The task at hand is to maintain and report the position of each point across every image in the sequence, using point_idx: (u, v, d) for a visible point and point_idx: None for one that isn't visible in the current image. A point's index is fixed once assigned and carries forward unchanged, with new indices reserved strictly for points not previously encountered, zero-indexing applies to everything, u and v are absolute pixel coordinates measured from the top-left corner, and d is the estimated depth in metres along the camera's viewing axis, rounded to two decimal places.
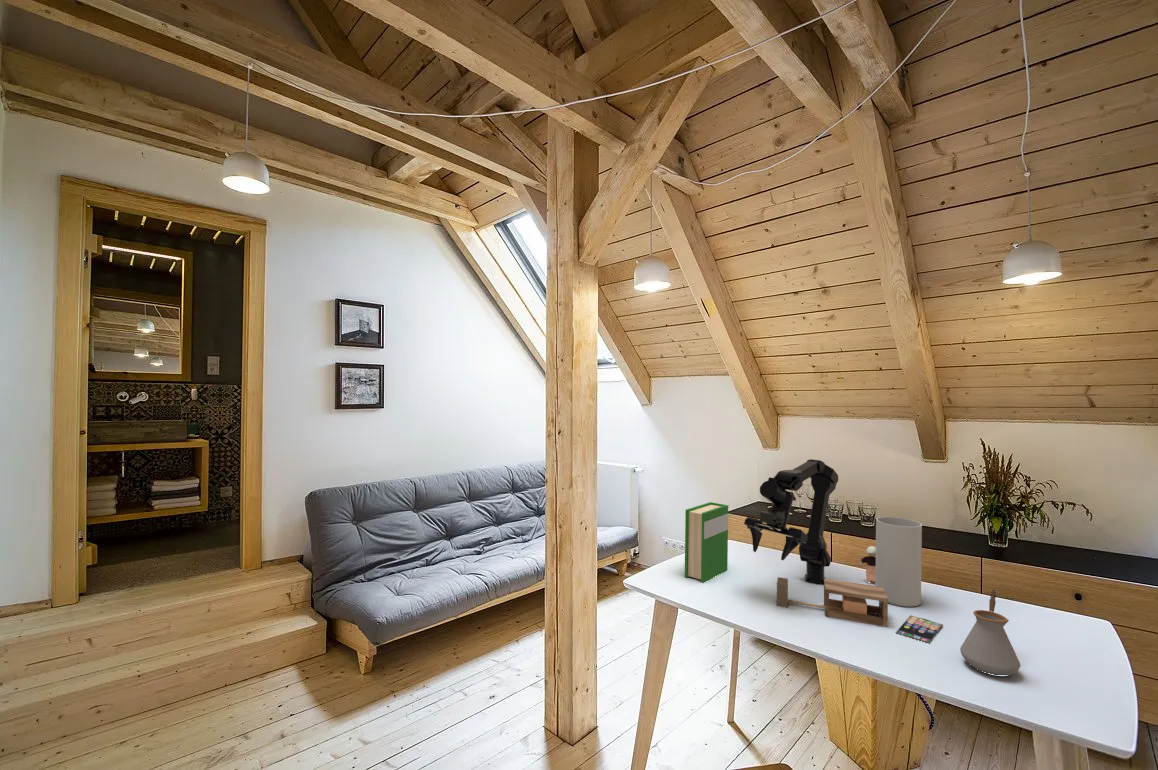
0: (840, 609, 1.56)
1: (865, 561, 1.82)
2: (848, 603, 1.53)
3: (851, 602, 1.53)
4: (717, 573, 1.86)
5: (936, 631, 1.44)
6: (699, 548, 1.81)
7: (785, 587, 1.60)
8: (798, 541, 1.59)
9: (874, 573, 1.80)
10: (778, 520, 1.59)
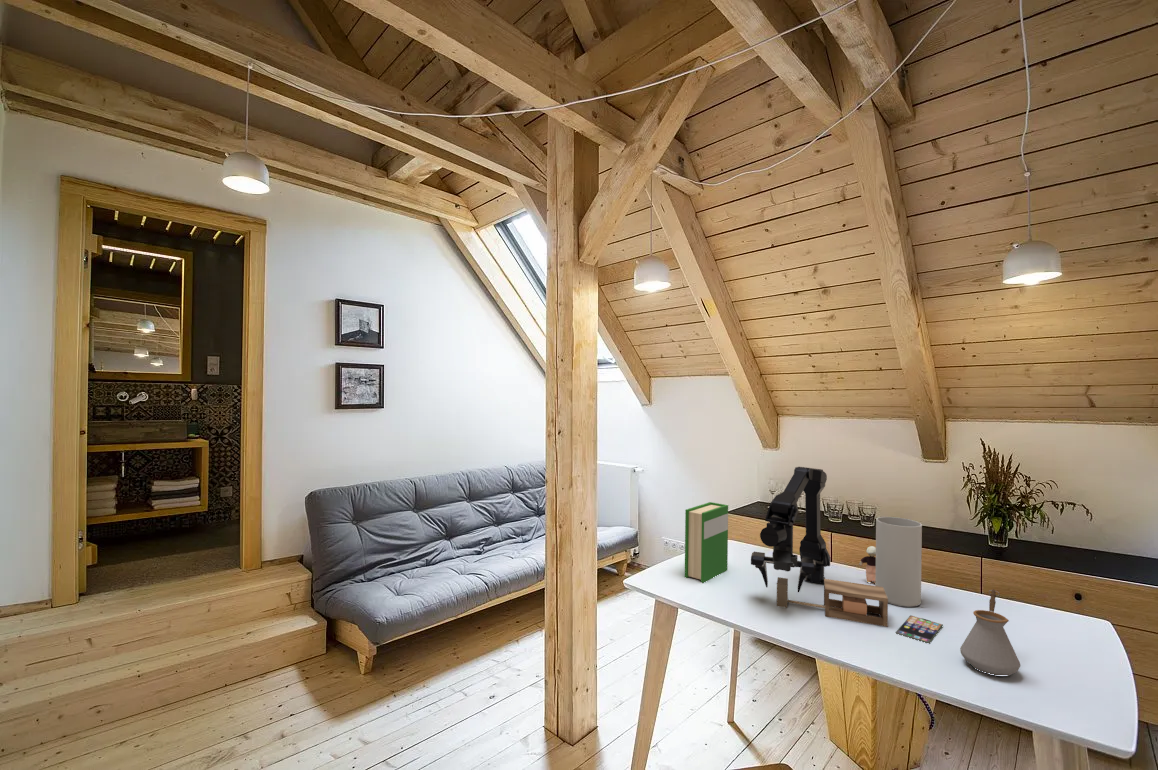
0: (840, 609, 1.56)
1: (865, 561, 1.82)
2: (848, 603, 1.53)
3: (851, 602, 1.53)
4: (717, 573, 1.86)
5: (936, 631, 1.44)
6: (699, 548, 1.81)
7: (785, 587, 1.60)
8: None
9: (874, 573, 1.80)
10: (795, 566, 1.55)
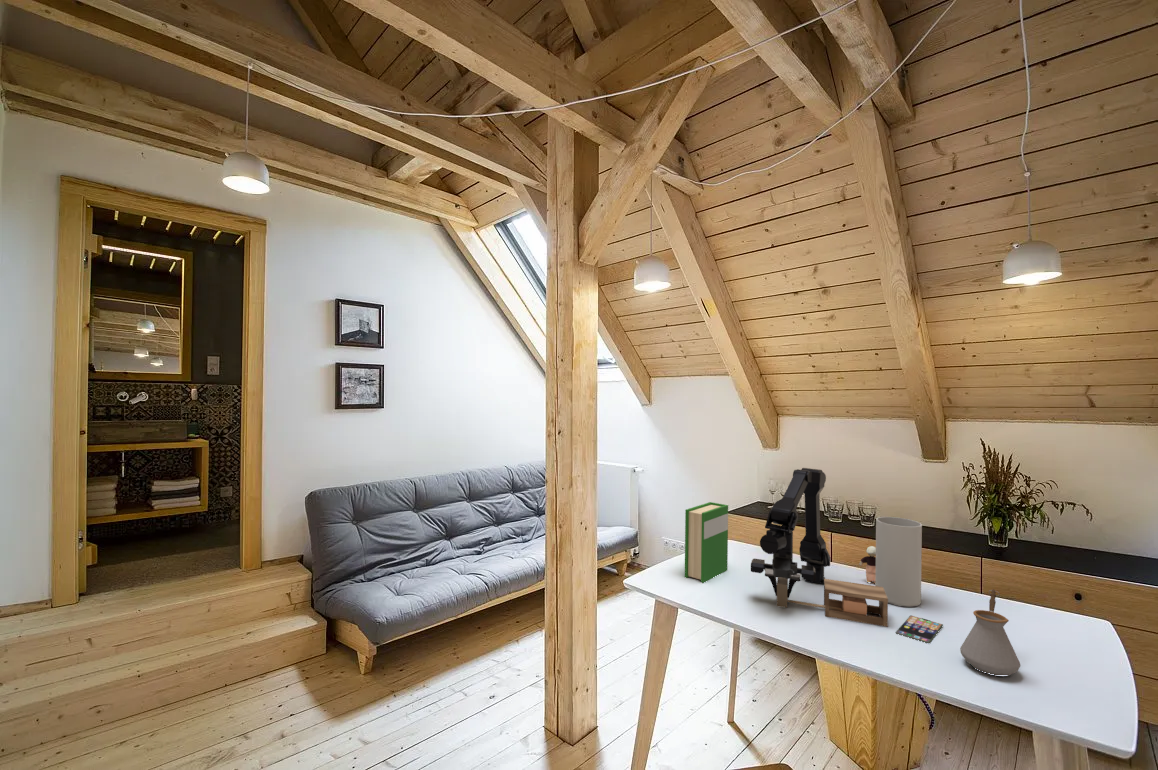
0: (840, 609, 1.56)
1: (865, 561, 1.82)
2: (848, 602, 1.53)
3: (851, 602, 1.53)
4: (717, 573, 1.86)
5: (936, 631, 1.44)
6: (699, 548, 1.81)
7: (785, 587, 1.60)
8: None
9: (874, 573, 1.80)
10: (795, 573, 1.55)
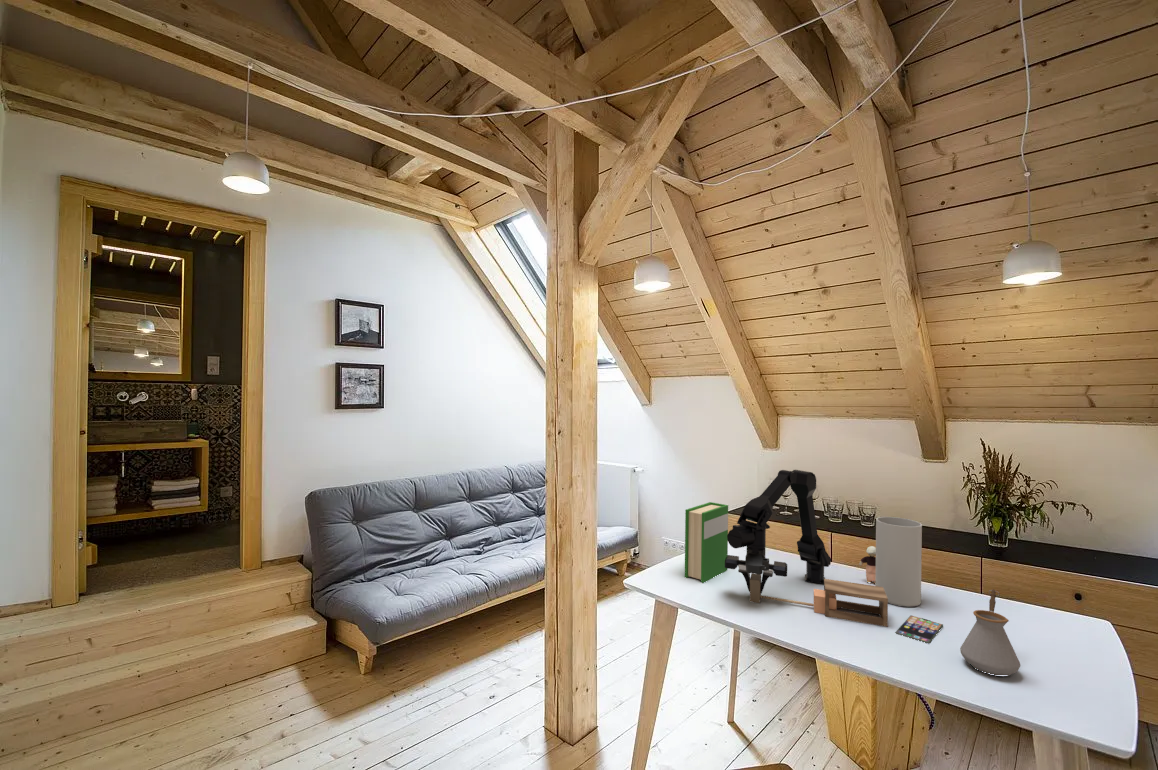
0: (811, 604, 1.59)
1: (865, 561, 1.82)
2: (818, 598, 1.56)
3: (821, 597, 1.56)
4: (717, 573, 1.86)
5: (936, 631, 1.44)
6: (699, 548, 1.81)
7: (758, 583, 1.63)
8: (772, 573, 1.64)
9: (874, 573, 1.80)
10: (766, 569, 1.58)
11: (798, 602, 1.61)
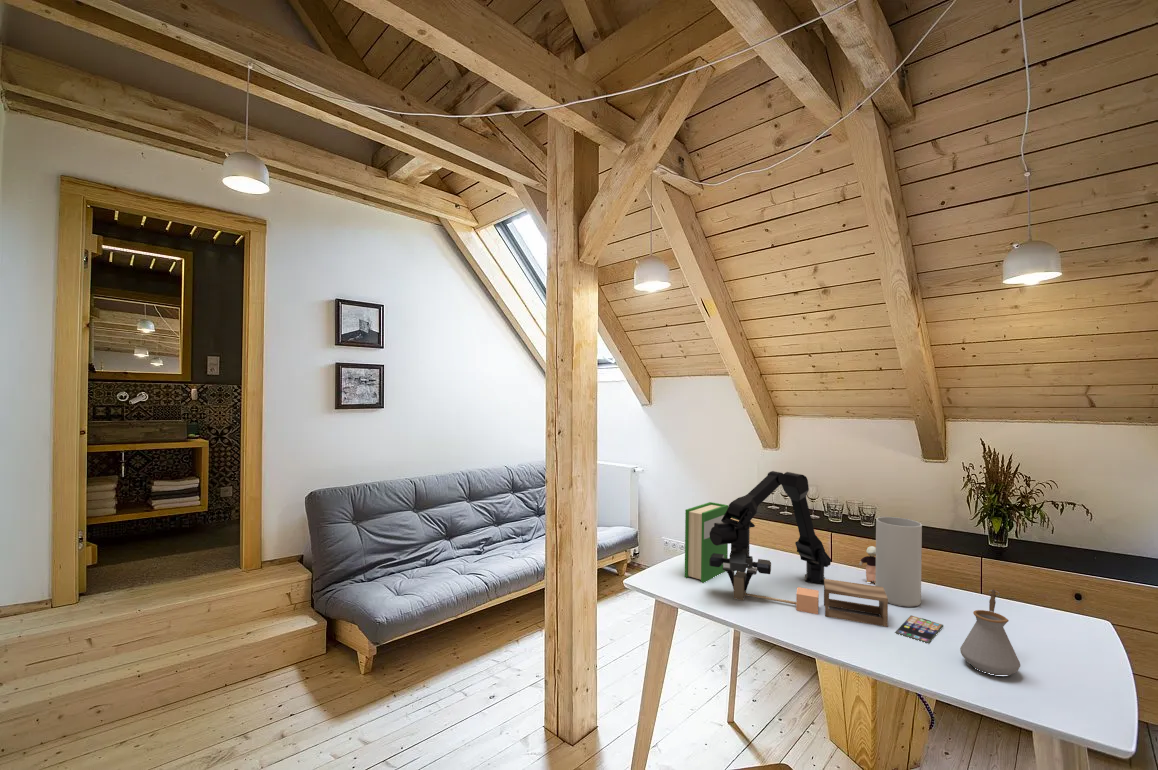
0: (794, 602, 1.60)
1: (865, 561, 1.82)
2: (800, 596, 1.57)
3: (803, 595, 1.57)
4: (717, 573, 1.86)
5: (936, 631, 1.44)
6: (699, 548, 1.81)
7: (741, 580, 1.65)
8: (756, 571, 1.66)
9: (874, 573, 1.80)
10: (750, 566, 1.60)
11: (781, 600, 1.62)
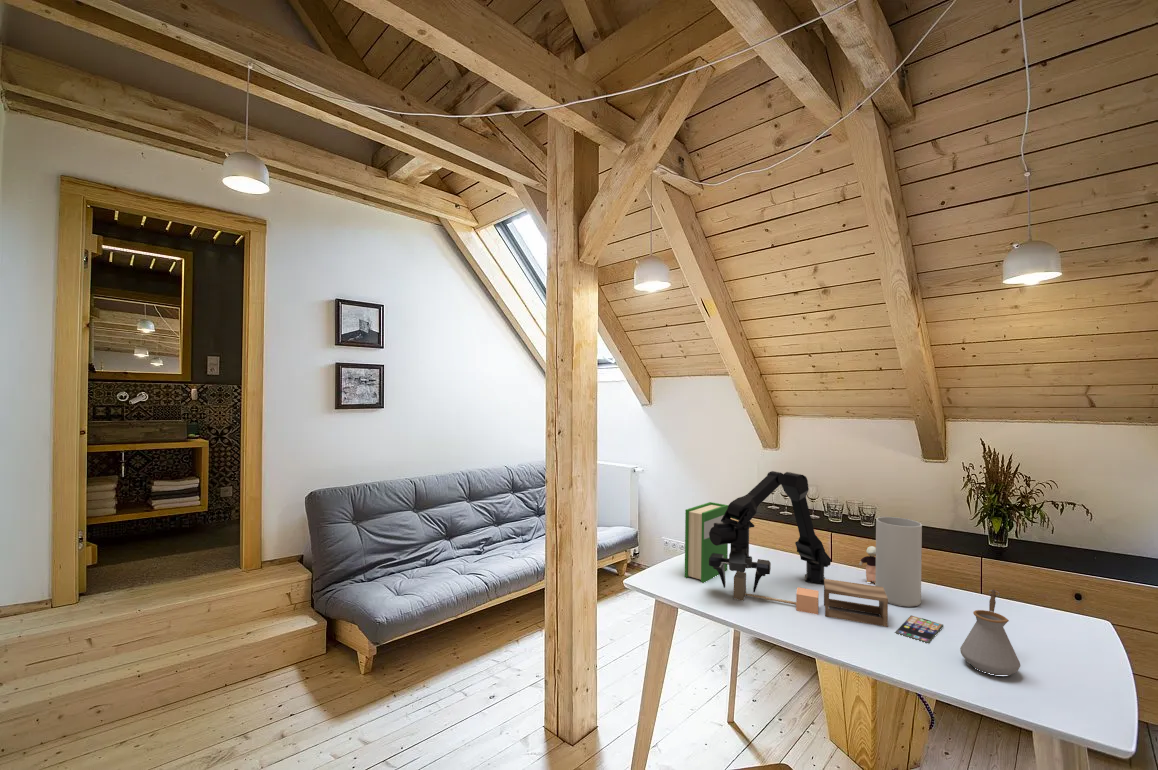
0: (794, 603, 1.60)
1: (865, 561, 1.82)
2: (800, 596, 1.57)
3: (803, 595, 1.57)
4: (717, 573, 1.86)
5: (936, 631, 1.44)
6: (699, 548, 1.81)
7: (741, 580, 1.65)
8: None
9: (874, 573, 1.80)
10: (749, 567, 1.60)
11: (781, 600, 1.62)
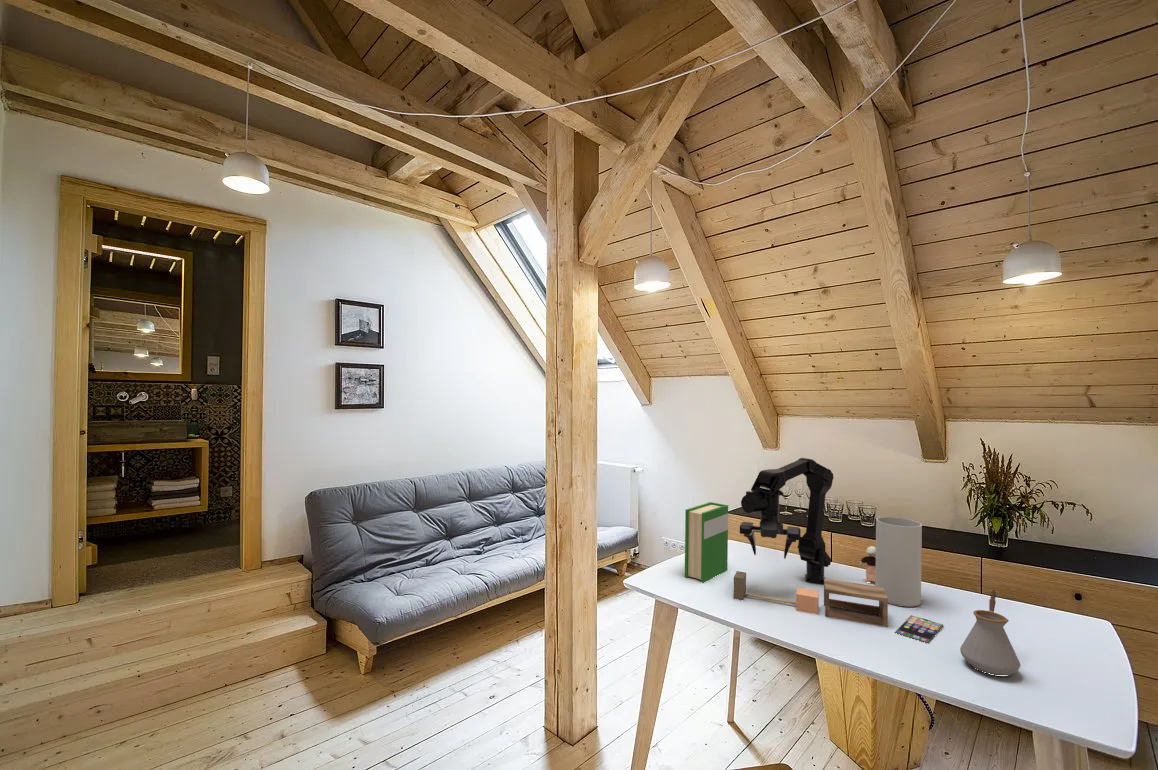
0: (794, 603, 1.60)
1: (865, 561, 1.82)
2: (800, 596, 1.57)
3: (803, 595, 1.57)
4: (717, 573, 1.86)
5: (936, 631, 1.44)
6: (699, 548, 1.81)
7: (741, 580, 1.65)
8: None
9: (874, 573, 1.80)
10: (780, 532, 1.64)
11: (781, 600, 1.62)
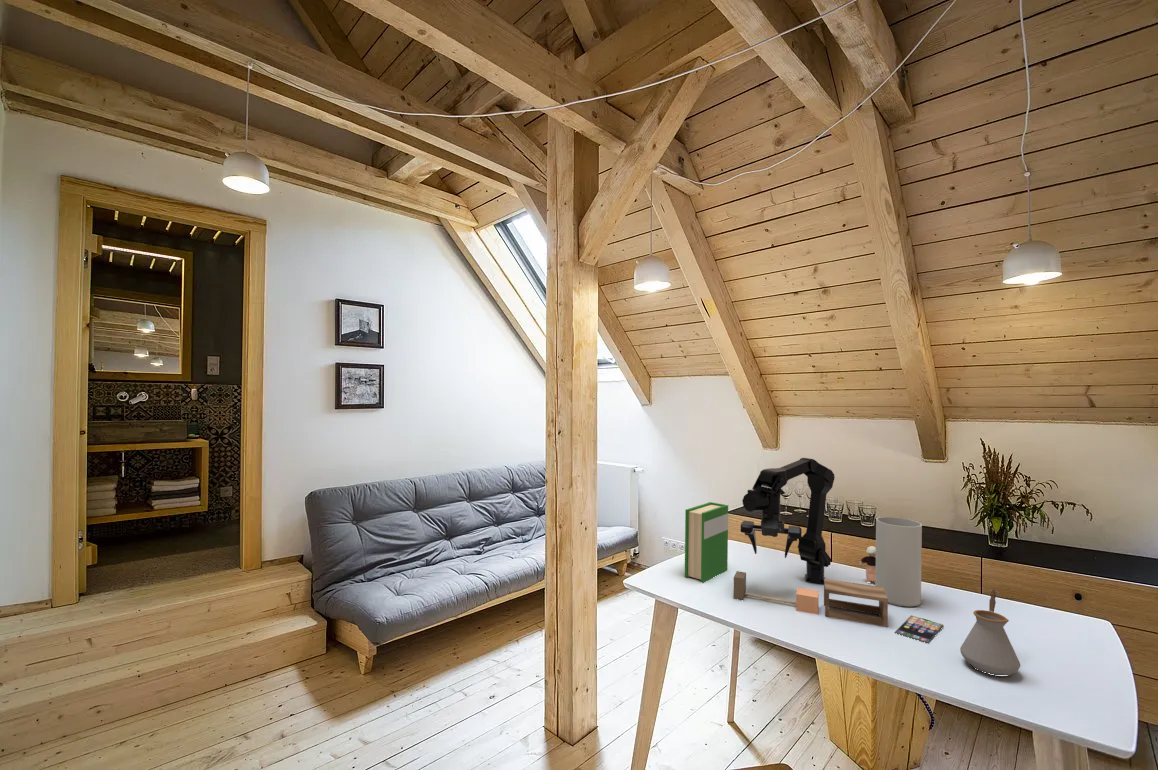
0: (794, 603, 1.60)
1: (865, 561, 1.82)
2: (800, 596, 1.57)
3: (803, 595, 1.57)
4: (717, 573, 1.86)
5: (936, 631, 1.44)
6: (699, 548, 1.81)
7: (741, 580, 1.65)
8: None
9: (874, 573, 1.80)
10: (782, 531, 1.64)
11: (781, 600, 1.62)
